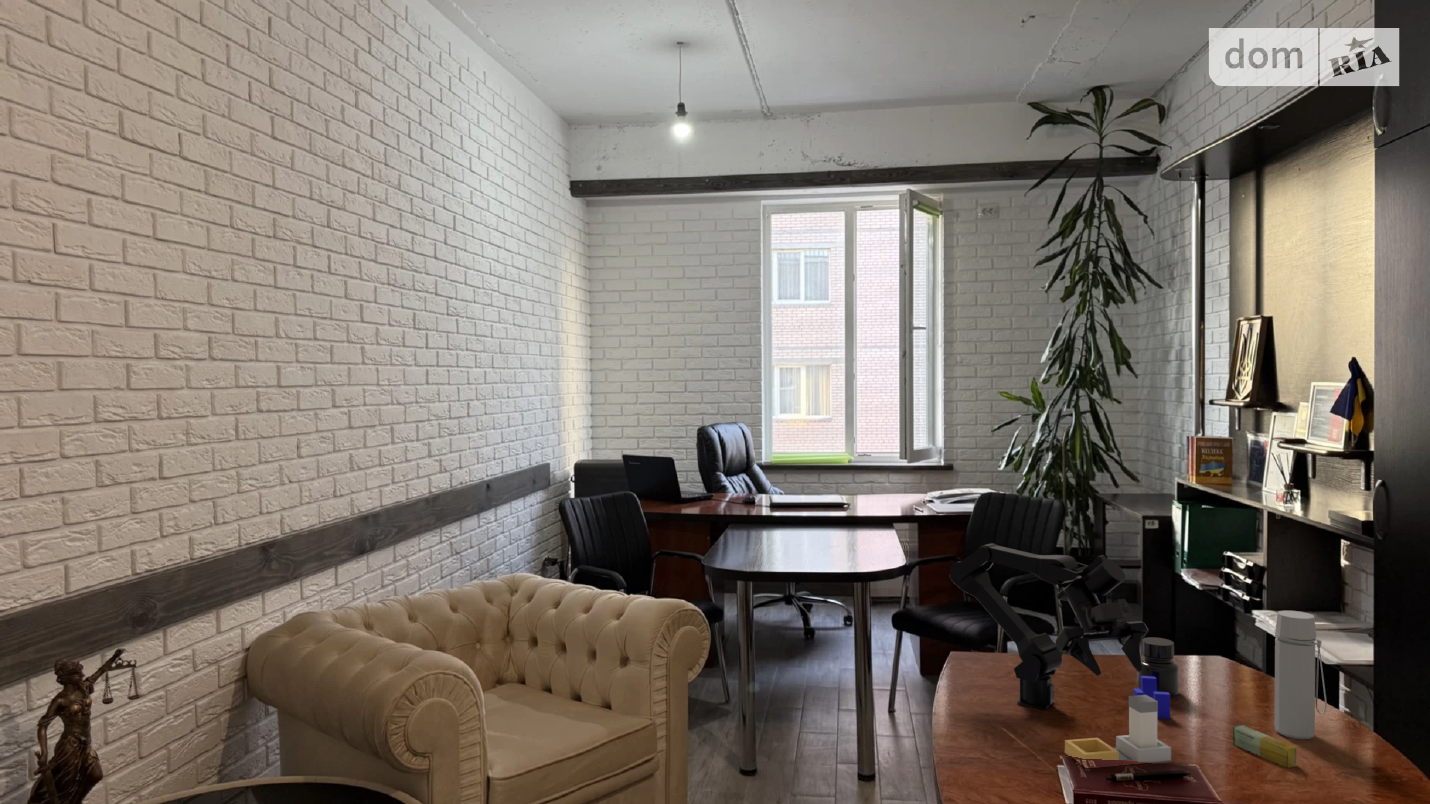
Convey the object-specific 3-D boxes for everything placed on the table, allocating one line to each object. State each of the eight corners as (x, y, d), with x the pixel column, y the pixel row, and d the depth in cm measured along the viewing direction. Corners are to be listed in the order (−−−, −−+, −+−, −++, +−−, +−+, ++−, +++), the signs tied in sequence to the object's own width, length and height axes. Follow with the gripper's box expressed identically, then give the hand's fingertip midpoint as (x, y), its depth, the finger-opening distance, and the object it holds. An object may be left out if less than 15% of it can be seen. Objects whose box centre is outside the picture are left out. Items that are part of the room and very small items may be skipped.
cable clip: (1133, 701, 208) (1133, 675, 208) (1154, 702, 207) (1154, 676, 207) (1147, 720, 196) (1147, 693, 196) (1170, 722, 195) (1170, 694, 195)
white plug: (1140, 759, 175) (1140, 702, 175) (1128, 751, 179) (1128, 696, 178) (1157, 757, 176) (1157, 701, 175) (1145, 749, 179) (1145, 694, 179)
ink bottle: (1182, 689, 215) (1182, 639, 214) (1179, 701, 207) (1179, 649, 207) (1138, 682, 220) (1138, 633, 220) (1132, 693, 212) (1132, 643, 212)
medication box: (1231, 745, 183) (1231, 726, 183) (1241, 743, 184) (1241, 723, 184) (1287, 769, 172) (1287, 748, 172) (1298, 767, 173) (1297, 746, 172)
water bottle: (1278, 738, 185) (1278, 617, 185) (1270, 724, 193) (1270, 608, 192) (1331, 744, 182) (1331, 621, 181) (1321, 730, 189) (1321, 611, 189)
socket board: (1086, 772, 171) (1086, 755, 171) (1063, 754, 179) (1063, 739, 179) (1172, 764, 174) (1172, 748, 174) (1146, 747, 182) (1146, 732, 182)
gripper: (1061, 589, 189) (1094, 656, 178) (1141, 583, 192) (1178, 648, 181) (1042, 618, 196) (1072, 684, 185) (1120, 611, 200) (1154, 676, 189)
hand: (1120, 673), depth 185 cm, fingers open, 9 cm apart
